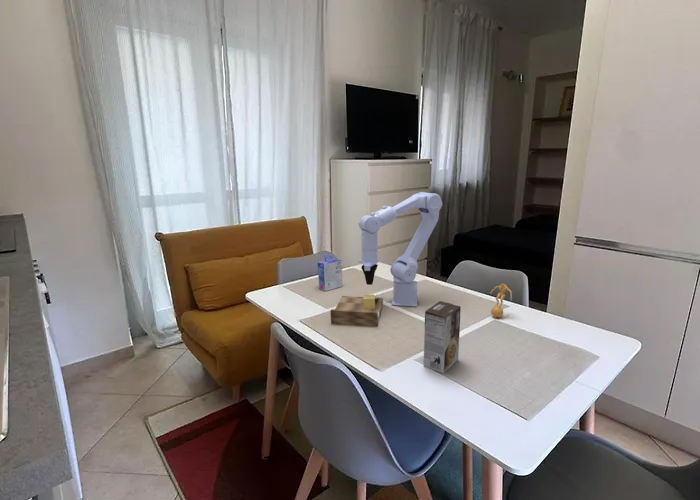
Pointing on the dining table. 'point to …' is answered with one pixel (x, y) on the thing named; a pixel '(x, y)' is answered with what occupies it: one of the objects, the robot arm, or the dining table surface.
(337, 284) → the ink cartridge box
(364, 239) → the robot arm
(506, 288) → the figurine
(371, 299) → the cube
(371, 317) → the board
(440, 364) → the coffee box
